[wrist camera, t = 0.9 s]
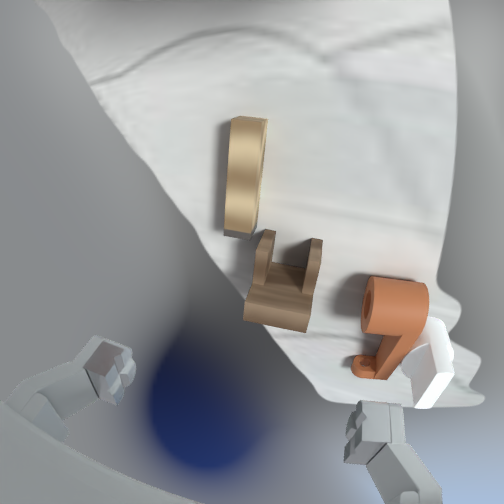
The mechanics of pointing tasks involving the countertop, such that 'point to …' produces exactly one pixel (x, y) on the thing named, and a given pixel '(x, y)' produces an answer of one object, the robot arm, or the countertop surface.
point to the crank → (391, 323)
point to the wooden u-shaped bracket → (282, 288)
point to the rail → (244, 175)
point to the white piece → (429, 363)
